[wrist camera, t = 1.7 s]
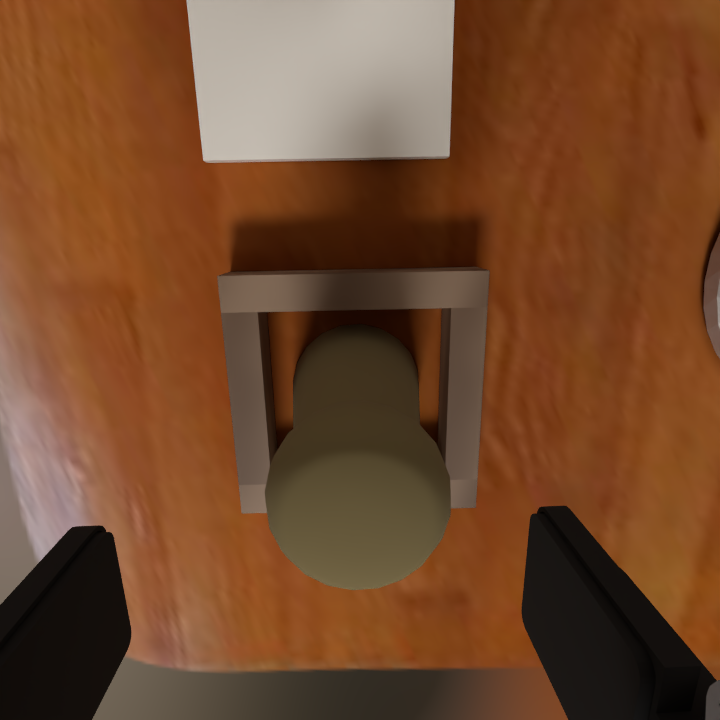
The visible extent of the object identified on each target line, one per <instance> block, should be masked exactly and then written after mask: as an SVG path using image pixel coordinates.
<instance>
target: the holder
mask: <svg viewBox="0 0 720 720" xmlns="http://www.w3.org/2000/svg"><path fill="white" fill-rule="evenodd" d="M217 278H218V287H219V297H220V307H221V317H222V326H223V336H224V346H225V355H226V365H227V375H228V384H229V394H230V404H231V414H232V423H233V433H234V443H235V452H236V462H237V472H238V482H239V491H240V501H241V511H242V513H267V508H266V501H265V488H266V483H267V478H268V473H269V468H270V465H271V462H272V460H273V457H274V455H275V453H276V452H277V438H276V424H275V411H274V398H273V385H272V371H271V358H270V345H269V331H268V318H267V312H287V311H335V310H383V309H431V308H442V320H441V353H440V385H439V417H438V449H439V451H440V453H441V456H442V458H443V461H444V463H445V466H446V468H447V471H448V473H449V476H450V487H451V508H476V493H477V476H478V459H479V442H480V424H481V407H482V390H483V373H484V356H485V339H486V322H487V305H488V288H489V270H486V269H482V268H479V267H443V268H393V269H343V270H293V271H243V272H228V273H225V274H222V275H219V276H217Z"/></svg>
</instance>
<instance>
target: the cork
mask: <svg viewBox="0 0 720 720" xmlns="http://www.w3.org/2000/svg"><path fill="white" fill-rule="evenodd" d="M265 501H266V508H267V515H268V521H269V528H270V530H271V532H272V534H273V536H274V537H275V539H276V541H277V543H278V545H279V547H280V548H281V550H282V552H283V553H284V554H285V555H286V556H287V558H288V559H289V560H290V561H291V562H293V563H294V564H295V565H296V566H297V567H298V568H299V569H300V570H301V571H302V572H303V573H304V574H305V575H307V576H310V577H312V578H314V579H316V580H318V581H320V582H322V583H324V584H326V585H328V586H333V587H339V588H344V589H350V590H360V589H373V588H380V587H383V586H385V585H388V584H391V583H394V582H397V581H400V580H402V579H403V578H405V577H406V576H408V575H409V574H411V573H412V572H413V571H415V570H416V569H418V568H419V567H421V566H422V565H423V563H424V562H425V561H426V559H427V558H428V557H429V555H430V554H431V553H432V552H433V550H434V549H435V548H436V546H437V545H438V544H439V542H440V541H441V540H442V538H443V535H444V532H445V529H446V526H447V523H448V520H449V517H450V511H451V487H450V476H449V473H448V471H447V468H446V466H445V463H444V461H443V458H442V456H441V453H440V451H439V449H438V446H437V444H436V442H435V441H434V440H433V439H432V438H431V437H430V436H429V435H428V433H427V432H426V431H425V430H424V429H423V428H422V427H421V426H420V413H419V385H418V370H417V368H416V365H415V363H414V360H413V358H412V355H411V353H410V352H409V351H408V350H407V349H406V347H405V346H404V345H403V344H402V343H401V342H400V340H399V339H398V338H396V337H394V336H393V335H391V334H389V333H388V332H386V331H384V330H383V329H381V328H377V327H372V326H368V325H364V324H354V325H342V326H339V327H336V328H334V329H331V330H329V331H326V332H324V333H322V334H321V335H320V336H318V337H317V338H316V339H315V340H314V341H313V342H311V343H310V344H309V345H308V346H307V347H306V349H305V350H304V352H303V354H302V355H301V357H300V359H299V360H298V362H297V366H296V370H295V375H294V380H293V430H291V431H290V432H289V433H288V434H287V436H286V437H285V439H284V440H283V442H282V444H281V445H280V447H279V449H278V450H277V452H276V453H275V455H274V457H273V460H272V462H271V465H270V468H269V473H268V478H267V483H266V488H265Z"/></svg>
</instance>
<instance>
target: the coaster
mask: <svg viewBox="0 0 720 720" xmlns="http://www.w3.org/2000/svg"><path fill="white" fill-rule="evenodd" d="M454 1H455V0H187V9H188V18H189V28H190V38H191V47H192V57H193V66H194V76H195V86H196V95H197V105H198V114H199V124H200V134H201V143H202V153H203V161H205V162H207V163H223V162H279V161H336V160H392V159H447V158H448V157H449V154H450V124H451V93H452V62H453V32H454Z"/></svg>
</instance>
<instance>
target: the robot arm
mask: <svg viewBox="0 0 720 720" xmlns="http://www.w3.org/2000/svg"><path fill="white" fill-rule="evenodd" d="M703 308H704V314H705V320H706V327H707V332H708V334H709V337H710V340H711V342H712V345H713V347H714V350H715V352H716V354H717V355H718V357H719V358H720V233H719V236H718V238H717V241H716V243H715V245H714V248H713V250H712V253H711V256H710V260H709V264H708V269H707V273H706V277H705V284H704V306H703ZM522 618H523V623H524V626H525V629H526V631H527V633H528V635H529V637H530V639H531V642H532V644H533V646H534V648H535V650H536V652H537V654H538V656H539V658H540V661H541V663H542V665H543V667H544V669H545V671H546V673H547V675H548V677H549V680H550V682H551V683H552V686H553V688H554V690H555V692H556V694H557V696H558V699H559V701H560V702H561V705H562V707H563V709H564V711H565V713H566V715H567V718H568V720H720V680H718V681H717V680H716V679H715V678H714V677H713V676H712V674H711V673H710V672H709V671H708V670H707V669H706V667H705V666H704V665H703V664H702V663H701V661H700V660H699V659H698V658H697V657H696V656H695V654H694V653H693V652H692V651H691V650H690V648H689V647H688V646H687V645H686V644H685V643H684V641H683V640H682V639H681V638H680V637H679V635H678V634H677V633H676V632H675V631H674V630H673V628H672V627H671V626H670V625H669V624H668V623H667V621H666V620H665V619H664V618H663V617H662V615H661V614H660V613H659V612H658V611H657V610H656V608H655V607H654V606H653V605H652V604H651V602H650V601H649V600H648V599H647V598H646V597H645V595H644V594H643V593H642V592H641V591H640V589H639V588H638V587H637V586H636V585H635V584H634V582H633V581H632V580H631V579H630V578H629V576H628V575H627V574H626V573H625V572H624V571H623V570H622V569H621V568H619V567H618V566H617V565H616V563H615V562H614V561H613V560H612V559H611V557H610V556H609V555H608V554H607V553H606V552H605V550H604V549H603V548H602V547H601V546H600V544H599V543H598V542H597V541H596V540H595V538H594V537H593V536H592V535H591V534H590V532H589V531H588V530H587V529H586V528H585V527H584V525H583V524H582V523H581V522H580V521H579V519H578V518H577V517H576V516H575V515H574V513H573V512H572V511H571V510H570V509H569V508H568V507H567V506H547V507H540V508H539V509H538V511H537V514H532V515H531V518H530V526H529V536H528V547H527V558H526V568H525V579H524V590H523V601H522ZM130 640H131V626H130V620H129V615H128V610H127V605H126V599H125V594H124V589H123V584H122V578H121V573H120V568H119V563H118V557H117V552H116V547H115V542H114V537H113V535H112V533H110V532H106V530H105V528H104V527H103V526H77V527H72V528H71V529H70V530H69V531H68V532H67V533H66V534H65V535H64V536H63V537H62V538H61V539H60V540H59V541H58V543H57V544H56V545H55V546H54V547H53V548H52V549H51V550H50V551H49V552H48V553H47V555H46V556H45V557H44V558H43V559H42V560H41V561H40V562H39V563H38V564H37V565H36V567H35V568H34V569H33V570H32V571H31V572H30V573H29V574H28V575H27V576H26V577H25V579H24V580H23V581H22V582H21V583H20V584H19V585H18V586H17V587H16V588H15V590H14V591H13V592H12V593H11V594H10V595H9V596H8V597H7V598H6V599H5V600H4V602H3V603H2V604H1V605H0V720H92V718H93V716H94V714H95V713H96V711H97V709H98V707H99V705H100V703H101V701H102V699H103V697H104V695H105V693H106V691H107V689H108V687H109V685H110V683H111V681H112V679H113V677H114V675H115V673H116V671H117V669H118V667H119V665H120V663H121V662H122V660H123V658H124V656H125V654H126V652H127V650H128V647H129V644H130Z"/></svg>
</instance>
